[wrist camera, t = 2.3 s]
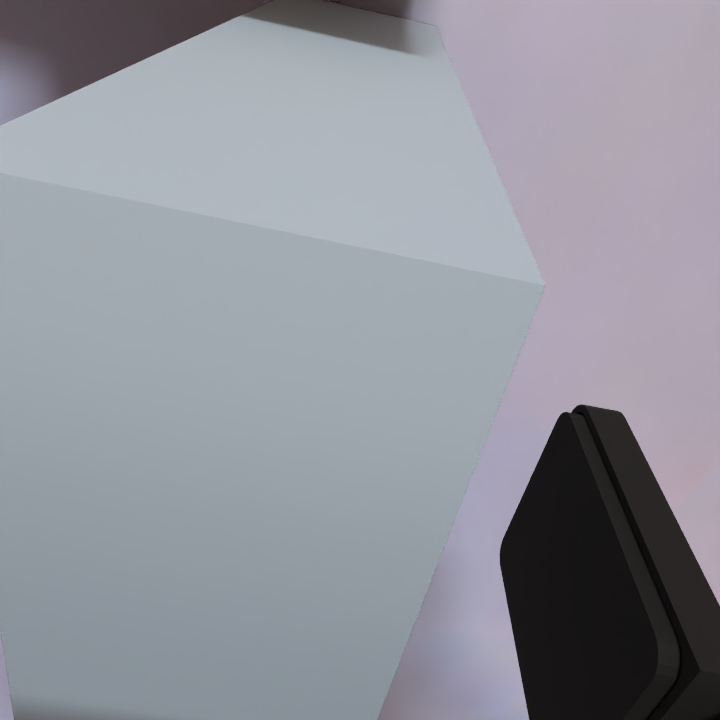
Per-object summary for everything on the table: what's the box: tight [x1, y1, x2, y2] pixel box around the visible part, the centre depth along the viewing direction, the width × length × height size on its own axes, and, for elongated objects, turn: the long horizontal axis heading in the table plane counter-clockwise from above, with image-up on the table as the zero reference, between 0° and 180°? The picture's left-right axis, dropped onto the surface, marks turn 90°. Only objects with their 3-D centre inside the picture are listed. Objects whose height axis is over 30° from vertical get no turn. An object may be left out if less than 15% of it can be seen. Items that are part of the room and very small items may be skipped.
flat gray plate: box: [0, 0, 545, 720], centre depth 11 cm, size 10×3×12 cm, turn 169°
